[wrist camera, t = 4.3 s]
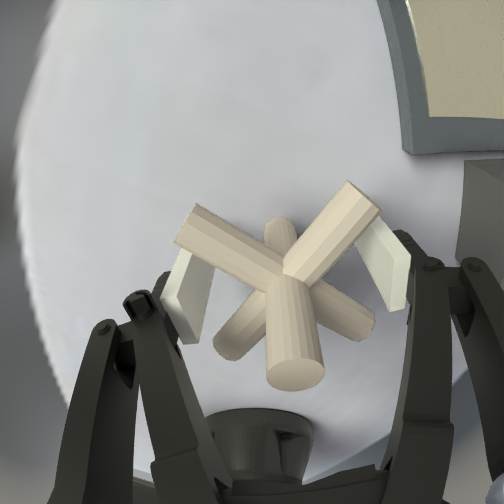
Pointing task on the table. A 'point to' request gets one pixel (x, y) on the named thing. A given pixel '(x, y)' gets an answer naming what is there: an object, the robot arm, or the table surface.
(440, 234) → the table surface
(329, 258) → the pipe connector
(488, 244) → the button housing
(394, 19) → the press frame
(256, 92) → the table surface
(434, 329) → the robot arm
